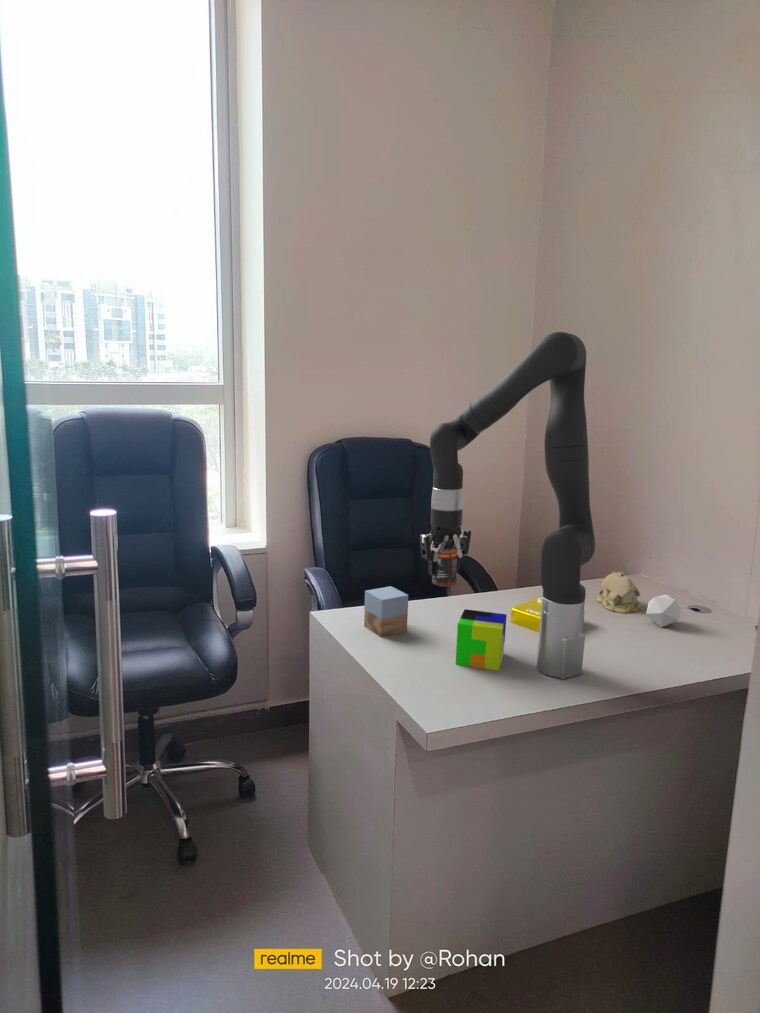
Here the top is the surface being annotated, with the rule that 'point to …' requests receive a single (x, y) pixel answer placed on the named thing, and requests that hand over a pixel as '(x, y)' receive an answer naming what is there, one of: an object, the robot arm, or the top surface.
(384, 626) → the tower base block
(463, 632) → the puzzle toy
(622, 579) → the ceramic model
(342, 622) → the top surface
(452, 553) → the supplement bottle
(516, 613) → the element tile
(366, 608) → the tower top block
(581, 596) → the robot arm
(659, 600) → the die
